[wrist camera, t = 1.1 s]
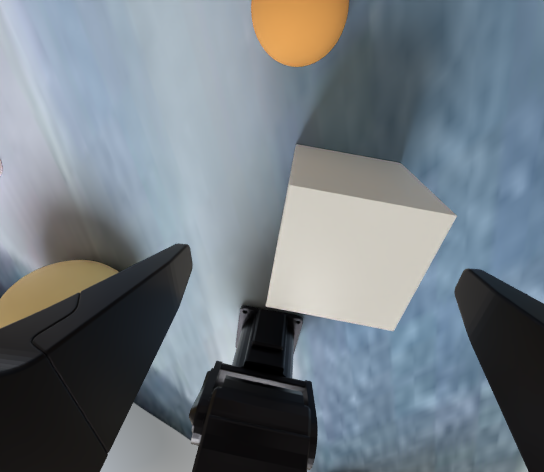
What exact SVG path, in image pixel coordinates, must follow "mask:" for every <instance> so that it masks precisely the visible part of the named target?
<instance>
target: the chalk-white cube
mask: <svg viewBox="0 0 544 472" xmlns="http://www.w3.org/2000/svg"><path fill="white" fill-rule="evenodd" d="M456 217H457V216H456V215H455V214H454V213H453V212H452V211H451V210H450V209H449V208H448V207H447V206H446V205H445V204H444V203H443V202H442V201H441V200H440V199H438V198H437V197H436V196H435V195H434V194H433V193H432V192H431V191H430V190H429V189H428V188H427V187H426V186H425V185H424V184H423V183H421V182H420V181H419V180H418V179H417V178H416V177H415V176H414V175H413V174H412V173H411V172H410V171H409V170H408V169H407V168H406V167H404V166H403V165H402V164H401V163H398V162H392V161H387V160H381V159H376V158H370V157H365V156H359V155H354V154H348V153H343V152H337V151H332V150H327V149H321V148H316V147H310V146H305V145H299V144H296V147H295V152H294V157H293V162H292V167H291V173H290V178H289V183H288V188H287V194H286V199H285V204H284V209H283V214H282V220H281V225H280V230H279V235H278V241H277V246H276V252H275V257H274V263H273V268H272V274H271V279H270V285H269V291H268V296H267V302H266V307H271V308H277V309H282V310H287V311H292V312H297V313H302V314H308V315H313V316H318V317H323V318H328V319H333V320H339V321H344V322H349V323H354V324H359V325H364V326H370V327H375V328H380V329H385V330H390V331H394V329H395V328H396V326H397V324H398V322H399V320H400V318H401V317H402V315H403V313H404V311H405V309H406V308H407V306H408V304H409V302H410V300H411V298H412V297H413V295H414V293H415V291H416V289H417V288H418V286H419V284H420V282H421V280H422V278H423V277H424V275H425V273H426V271H427V269H428V268H429V266H430V264H431V262H432V260H433V258H434V257H435V255H436V253H437V251H438V249H439V248H440V246H441V244H442V242H443V240H444V238H445V237H446V235H447V233H448V231H449V229H450V228H451V226H452V224H453V222H454V220H455V218H456Z"/></svg>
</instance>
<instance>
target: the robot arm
mask: <svg viewBox="0 0 544 472" xmlns="http://www.w3.org/2000/svg"><path fill="white" fill-rule="evenodd" d="M192 265H193V264H192V257H191V251H190V247H189V245H187V244H175V245H173V246H171V247H169V248H167V249H165V250H163V251H161V252H159V253H157V254H155V255H153V256H151V257H149V258H147V259H145V260H143V261H141V262H139V263H137V264H135V265H133V266H131V267H129V268H127V269H125V270H123V271H121V272H119V273H117V274H115V275H113V276H111V277H109V278H107V279H105V280H103V281H101V282H99V283H96V284H94V285H92V286H90V287H88V288H86V289H84V290H82V291H81V293H76V294H74V295H72V296H70V297H68V298H66V299H64V300H62V301H60V302H58V303H56V304H54V305H52V306H50V307H48V308H45V309H43V310H41V311H39V312H36V313H34V314H32V315H30V316H28V317H25V318H23V319H21V320H18V321H16V322H14V323H11V324H9V325H7V326H5V327H2V328H0V472H100V470H101V468H102V466H103V464H104V462H105V460H106V458H107V455H108V454H107V453H108V452H109V451H110V449H111V447H112V445H113V443H114V441H115V438H116V437H117V435H118V432H119V430H120V428H121V426H122V424H123V422H124V420H125V418H126V416H127V414H128V412H129V410H130V408H131V406H132V404H133V402H134V399H135V397H136V395H137V393H138V391H139V389H140V387H141V385H142V383H143V381H144V379H145V377H146V375H147V373H148V371H149V369H150V366H151V364H152V362H153V360H154V358H155V356H156V354H157V352H158V350H159V348H160V346H161V344H162V342H163V340H164V338H165V336H166V333H167V331H168V329H169V327H170V325H171V323H172V321H173V319H174V317H175V315H176V313H177V311H178V308H179V306H180V303H181V300H182V298H183V295H184V292H185V289H186V286H187V283H188V280H189V277H190V274H191V271H192ZM455 297H456V300H457V303H458V307H459V310H460V313H461V316H462V319H463V322H464V325H465V328H466V331H467V334H468V337H469V340H470V342H471V344H472V347H473V349H474V351H475V353H476V356H477V358H478V360H479V362H480V364H481V367H482V369H483V371H484V373H485V376H486V378H487V380H488V382H489V384H490V387H491V389H492V391H493V393H494V396H495V398H496V400H497V402H498V405H499V407H500V409H501V411H502V413H503V416H504V418H505V420H506V422H507V425H508V427H509V429H510V431H511V433H512V436H513V438H514V440H515V442H516V445H517V447H518V449H519V451H520V453H521V456H522V458H523V460H524V462H525V465H526V467H527V469H528V471H529V472H544V304H543V303H541V302H540V301H538V300H536V299H534V298H532V297H530V296H529V295H527V294H525V293H523V292H521V291H519V290H518V289H516V288H514V287H512V286H510V285H508V284H507V283H505V282H503V281H501V280H499V279H497V278H496V277H494V276H492V275H490V274H488V273H486V272H485V271H483V270H480V269H469V268H468V269H465V270H464V271H463V273H462V275H461V277H460V279H459V281H458V283H457V285H456V287H455ZM244 310H246V311H244ZM297 320H298V321H297ZM302 324H303V318H302V317H301V316H297V315H292V314H287V313H282V312H276V311H271V310H266V309H261V308H256V307H251V306H242V307H241V310H240V316H239V323H238V331H237V339H236V348H237V349H236V353H235V356H234V360H233V364H232V365H229V364H224V363H222V362H220V361H216V363H215V366H214V369H213V368H212V369H211V371H208V372H207V374H206V377H205V380H204V383H203V386H202V388H201V391H200V393H199V395H198V397H197V399H196V400H195V402H194V404H193V406H192V408H191V410H190V414H189V418H190V421H191V423H192V425H193V426H192V432H193V434H192V439H191V444H194V445H199V447H198V451H197V455H196V458H195V463H194V466H193V470H192V472H307V469H308V470H310V469H311V468H312V466H313V463H314V459H315V454H316V447H317V431H318V430H317V417H316V410H315V403H314V396H313V389H312V382H311V381H306V380H305V381H301V380H297V379H292V371H293V354H294V351H295V347H296V344H297V341H298V337H299V334H300V331H301V327H302Z"/></svg>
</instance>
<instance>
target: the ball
mask: <svg viewBox="0 0 544 472" xmlns="http://www.w3.org/2000/svg"><path fill="white" fill-rule="evenodd" d="M348 8H349V0H252V3H251V13H252V22H253V27H254V30H255V33H256V36H257V38H258V40H259V42H260V44H261V45H262V47H263V48H264V50H265V51H266V52H267V53H268V54H269V55H270V56H271V57H272V58H273V59H274V60H276V61H278V62H279V63H282V64H284V65H287V66H292V67H302V66H307V65H310V64H313V63H315V62H317V61H319V60H320V59H322V58H323V57H324V56H326V55H327V54H328V53H329V52H330V51H331V49H332V48H333V47H334V46H335V44H336V43H337V41H338V40H339V38H340V36H341V34H342V32H343V29H344V26H345V23H346V19H347V15H348Z"/></svg>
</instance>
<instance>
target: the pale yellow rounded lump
mask: <svg viewBox="0 0 544 472" xmlns="http://www.w3.org/2000/svg"><path fill="white" fill-rule="evenodd" d="M117 273H119V272H118V271H117V270H115V269H113V268H112V267H110V266H107V265H105V264H102V263H99V262H96V261H90V260H70V261H63V262H58V263H54V264H51V265H47V266H45V267H42V268H40V269H37V270H35V271H33V272H31V273H29V274H28V275H26V276H24V277H23V278H21V279H20V280H19V281H17V282H16V283H15V284H14V285H13V286H11V287H10V288H9V289H8V290H7V291H6V293H5V294H4V295H3V296H2V297H1V299H0V328H2V327H5V326H7V325H9V324H11V323H14V322H16V321H18V320H21V319H23V318H25V317H28V316H30V315H32V314H34V313H36V312H39V311H41V310H43V309H45V308H48V307H50V306H52V305H54V304H56V303H58V302H60V301H62V300H64V299H66V298H68V297H70V296H72V295H74V294H76V293H81V291H82V290H84V289H86V288H88V287H90V286H92V285H94V284H96V283H99V282H101V281H103V280H105V279H107V278H109V277H111V276H113V275H115V274H117Z"/></svg>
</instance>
